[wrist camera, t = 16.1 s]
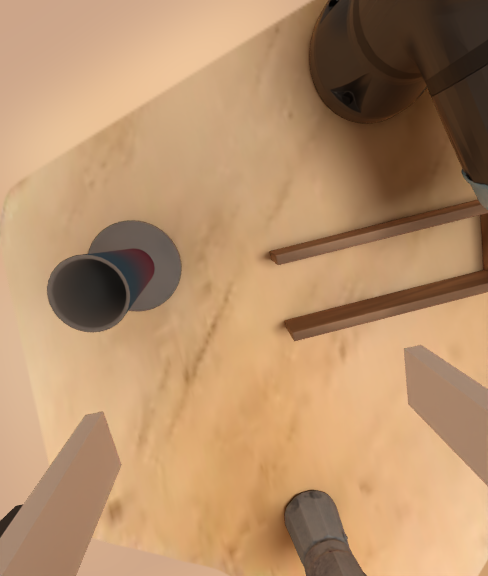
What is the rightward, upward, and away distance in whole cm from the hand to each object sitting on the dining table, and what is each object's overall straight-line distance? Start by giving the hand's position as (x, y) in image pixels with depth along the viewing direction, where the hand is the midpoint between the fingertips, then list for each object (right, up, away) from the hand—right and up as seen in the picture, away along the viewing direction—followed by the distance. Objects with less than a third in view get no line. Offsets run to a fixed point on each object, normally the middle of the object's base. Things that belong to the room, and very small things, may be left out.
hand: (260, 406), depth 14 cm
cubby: (+19, +9, +31) cm, 37 cm away
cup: (-15, +8, +28) cm, 33 cm away
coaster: (-15, +8, +28) cm, 33 cm away
